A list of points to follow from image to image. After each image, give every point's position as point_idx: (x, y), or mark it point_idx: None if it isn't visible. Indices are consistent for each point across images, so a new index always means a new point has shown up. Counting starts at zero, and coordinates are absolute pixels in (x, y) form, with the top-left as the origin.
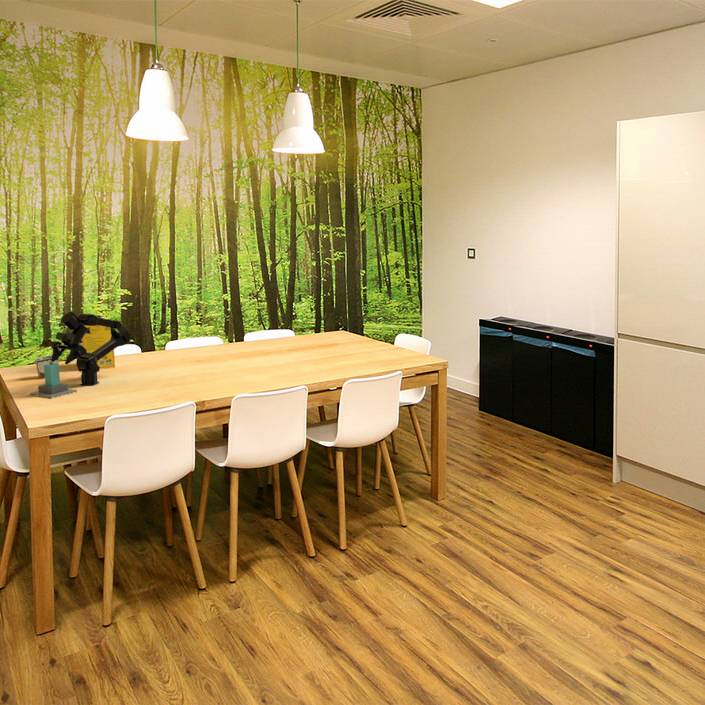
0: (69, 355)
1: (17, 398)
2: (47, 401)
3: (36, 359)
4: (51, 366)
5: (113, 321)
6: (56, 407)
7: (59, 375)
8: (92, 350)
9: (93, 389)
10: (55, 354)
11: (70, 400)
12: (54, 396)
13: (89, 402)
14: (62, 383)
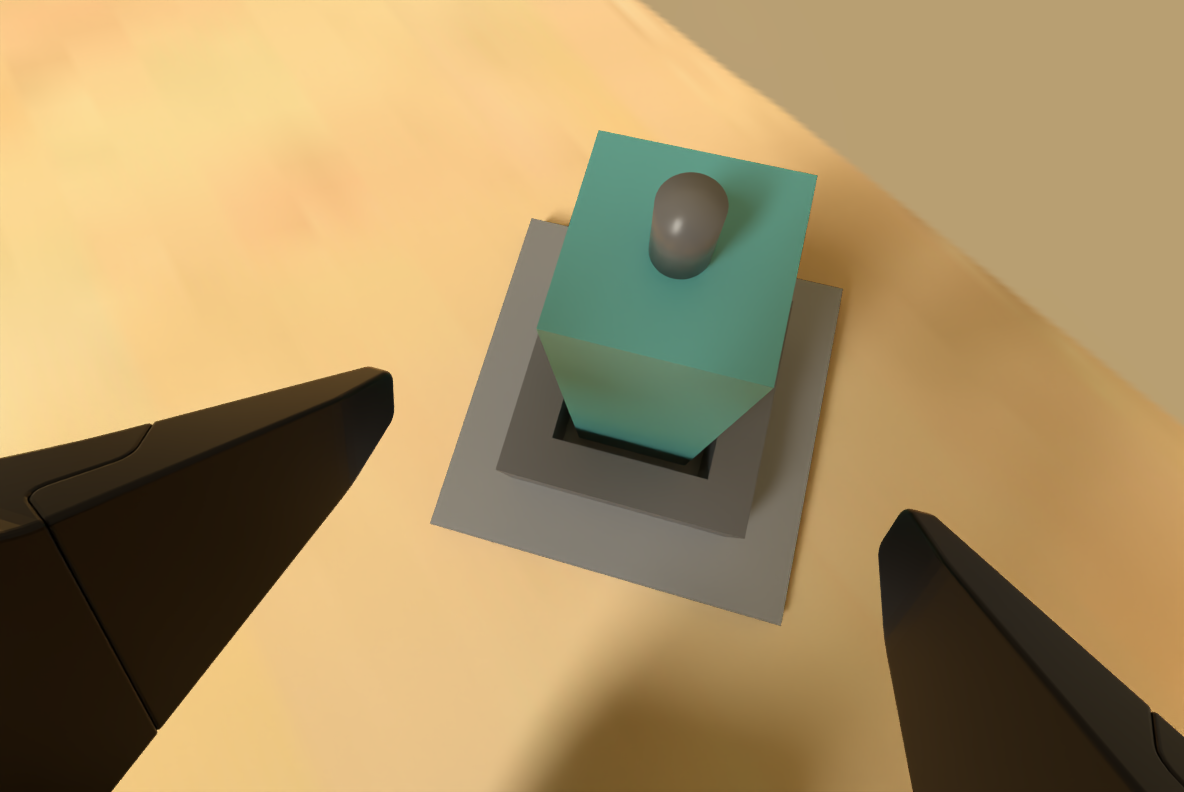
0: (132, 457)
1: (841, 163)
2: (505, 143)
3: None
4: (592, 162)
5: None
6: (326, 21)
7: (563, 395)
8: None
9: (312, 686)
10: (1041, 779)
11: (325, 217)
12: (521, 257)
13: (130, 200)
14: (578, 479)
